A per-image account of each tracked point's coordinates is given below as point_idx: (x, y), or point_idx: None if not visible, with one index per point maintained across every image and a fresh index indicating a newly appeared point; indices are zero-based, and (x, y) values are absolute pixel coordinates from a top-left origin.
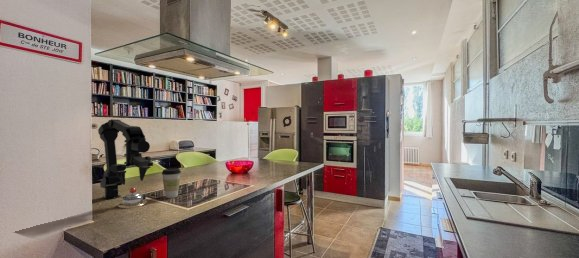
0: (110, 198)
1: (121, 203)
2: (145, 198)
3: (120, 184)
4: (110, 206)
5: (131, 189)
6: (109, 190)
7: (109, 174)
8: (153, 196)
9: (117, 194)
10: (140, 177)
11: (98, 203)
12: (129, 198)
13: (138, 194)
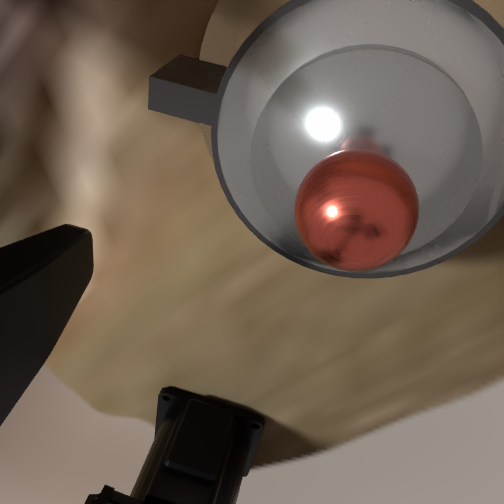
0: (252, 418)
1: None
2: (179, 56)
3: (113, 497)
4: (467, 300)
5: (407, 223)
6: (224, 495)
7: None
8: (12, 89)
9: (190, 416)
10: (40, 346)
11: (375, 430)
12: (495, 122)
13: (327, 77)
